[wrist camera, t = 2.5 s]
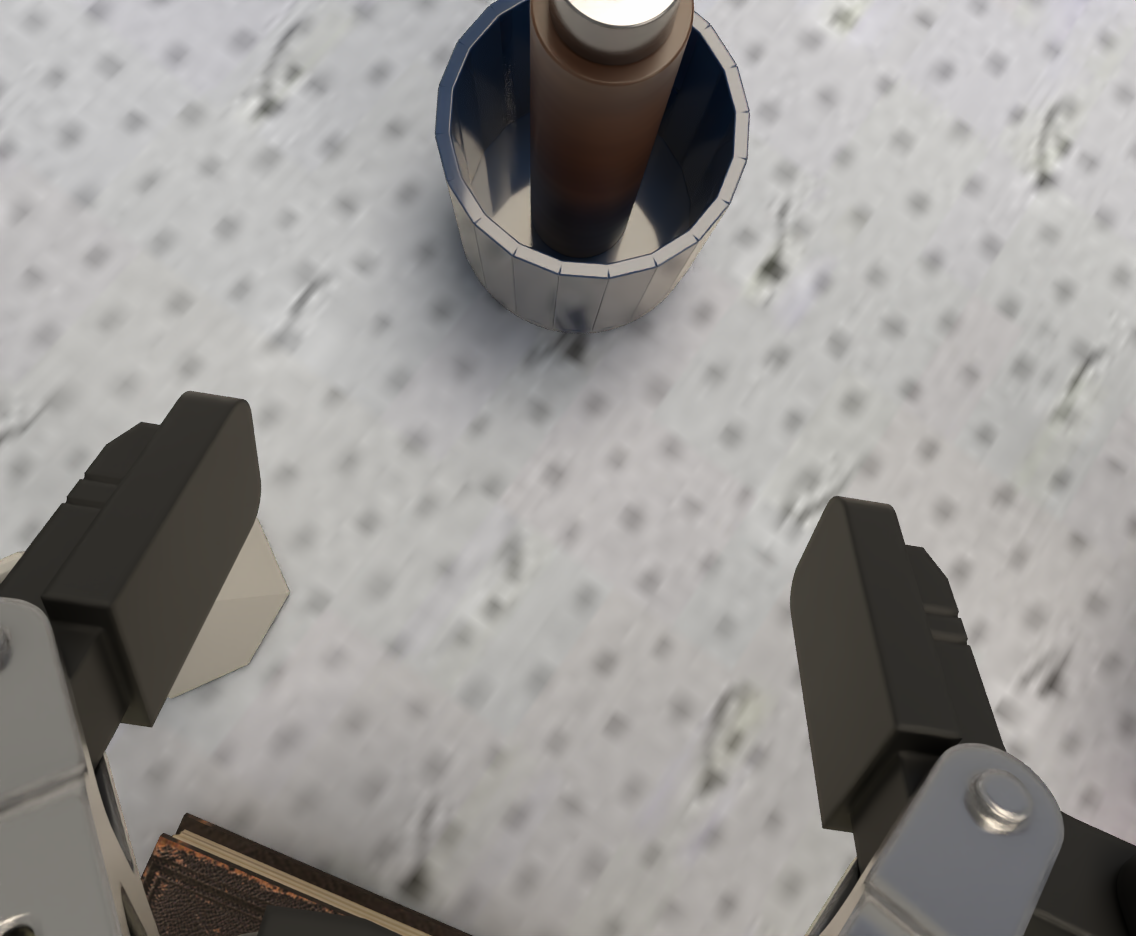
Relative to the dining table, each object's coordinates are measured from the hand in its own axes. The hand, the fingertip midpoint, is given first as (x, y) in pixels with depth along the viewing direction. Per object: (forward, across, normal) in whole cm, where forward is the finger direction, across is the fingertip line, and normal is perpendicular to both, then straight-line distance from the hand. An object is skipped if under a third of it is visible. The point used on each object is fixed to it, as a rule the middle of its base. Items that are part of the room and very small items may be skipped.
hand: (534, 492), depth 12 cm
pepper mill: (+21, 0, +5) cm, 21 cm away
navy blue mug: (+22, +1, +5) cm, 23 cm away
